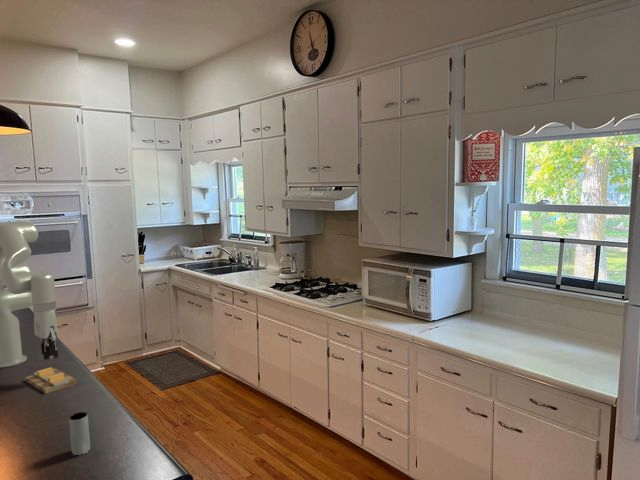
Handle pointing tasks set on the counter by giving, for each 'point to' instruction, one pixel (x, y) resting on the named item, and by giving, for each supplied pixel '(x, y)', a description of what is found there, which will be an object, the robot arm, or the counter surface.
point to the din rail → (54, 383)
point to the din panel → (46, 386)
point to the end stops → (51, 378)
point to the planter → (79, 433)
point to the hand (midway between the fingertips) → (48, 353)
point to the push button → (45, 351)
